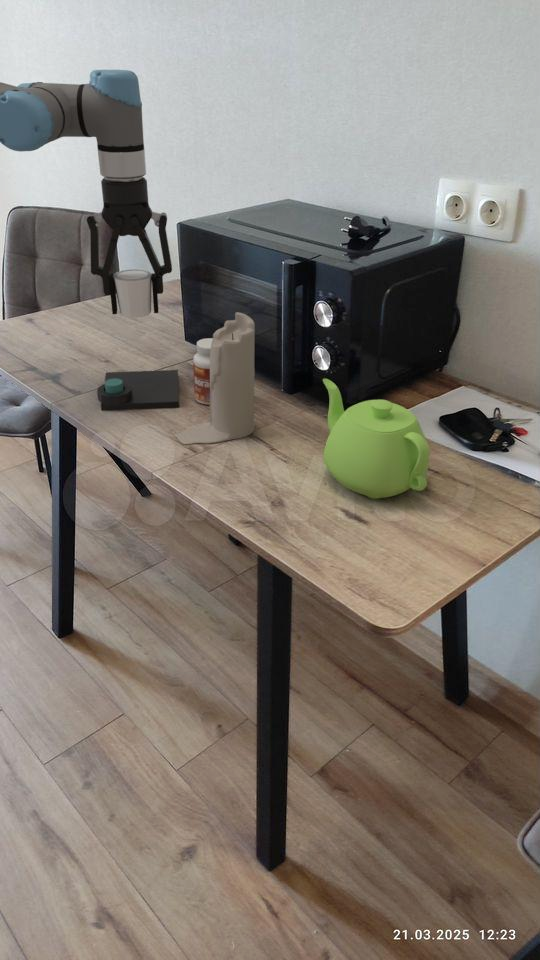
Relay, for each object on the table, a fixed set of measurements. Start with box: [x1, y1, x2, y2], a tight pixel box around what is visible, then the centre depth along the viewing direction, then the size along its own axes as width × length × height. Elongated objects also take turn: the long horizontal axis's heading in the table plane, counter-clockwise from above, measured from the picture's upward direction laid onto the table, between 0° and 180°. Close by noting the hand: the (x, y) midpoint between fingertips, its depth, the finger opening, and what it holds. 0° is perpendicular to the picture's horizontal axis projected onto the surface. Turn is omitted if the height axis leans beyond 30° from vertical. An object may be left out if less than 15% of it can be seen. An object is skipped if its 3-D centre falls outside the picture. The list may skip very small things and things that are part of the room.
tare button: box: [104, 378, 124, 394], centre depth 127 cm, size 3×3×2 cm
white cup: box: [113, 268, 152, 318], centre depth 128 cm, size 7×7×7 cm
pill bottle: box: [192, 337, 213, 406], centre depth 129 cm, size 6×6×11 cm
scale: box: [96, 369, 180, 411], centre depth 132 cm, size 14×14×3 cm
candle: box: [173, 311, 256, 445], centre depth 115 cm, size 7×14×20 cm, turn 115°
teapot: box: [322, 378, 431, 500], centre depth 107 cm, size 22×15×13 cm
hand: (135, 311), depth 129 cm, fingers closed on white cup, 7 cm apart
